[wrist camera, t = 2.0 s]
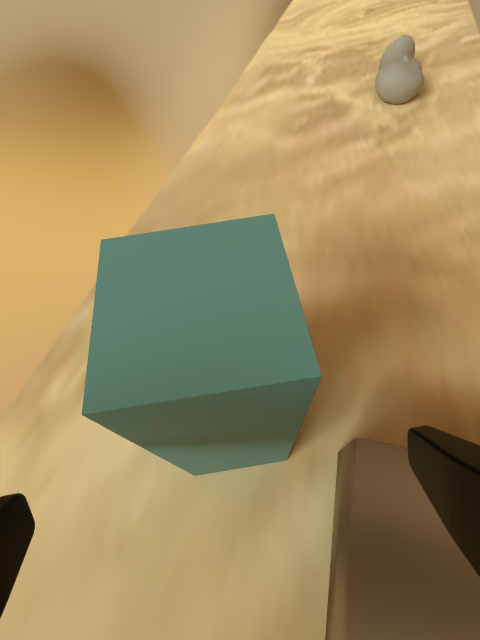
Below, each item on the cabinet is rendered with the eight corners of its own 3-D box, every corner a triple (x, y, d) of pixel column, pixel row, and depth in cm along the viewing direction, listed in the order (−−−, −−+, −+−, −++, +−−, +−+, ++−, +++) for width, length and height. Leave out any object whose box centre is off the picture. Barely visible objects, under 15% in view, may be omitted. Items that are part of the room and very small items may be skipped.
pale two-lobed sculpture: (405, 123, 35) (363, 103, 35) (411, 86, 39) (372, 68, 38) (435, 81, 31) (388, 59, 31) (438, 44, 35) (396, 24, 35)
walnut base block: (578, 773, 12) (712, 883, 8) (322, 685, 13) (342, 746, 10) (525, 493, 16) (596, 488, 12) (338, 452, 17) (356, 437, 14)
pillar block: (286, 460, 17) (321, 376, 7) (194, 475, 17) (81, 414, 7) (268, 374, 20) (274, 213, 9) (188, 387, 20) (100, 239, 9)
